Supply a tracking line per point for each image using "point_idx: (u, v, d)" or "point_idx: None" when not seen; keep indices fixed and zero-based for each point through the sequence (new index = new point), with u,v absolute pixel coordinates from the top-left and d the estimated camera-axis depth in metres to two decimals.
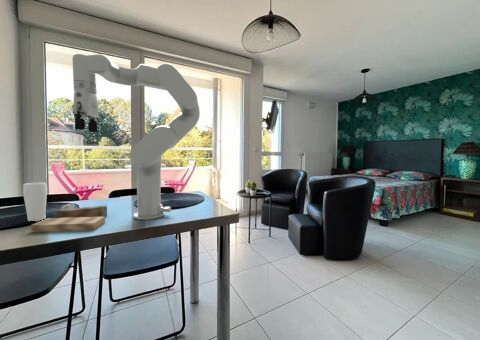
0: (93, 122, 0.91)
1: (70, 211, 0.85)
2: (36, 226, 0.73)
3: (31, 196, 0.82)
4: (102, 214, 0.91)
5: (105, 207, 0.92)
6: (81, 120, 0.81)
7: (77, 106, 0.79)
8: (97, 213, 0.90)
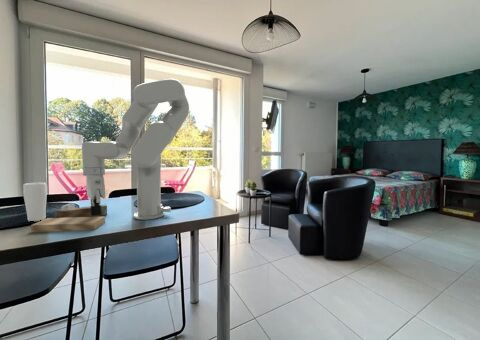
0: None
1: (70, 211, 0.85)
2: (36, 226, 0.73)
3: (31, 196, 0.82)
4: (102, 213, 0.92)
5: (105, 206, 0.93)
6: (98, 206, 0.89)
7: None
8: None
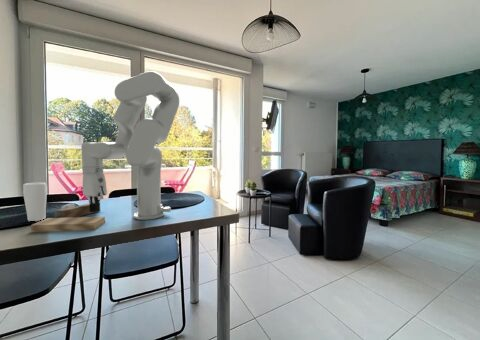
0: None
1: (71, 210, 0.87)
2: (36, 226, 0.73)
3: (31, 196, 0.82)
4: None
5: None
6: None
7: None
8: None
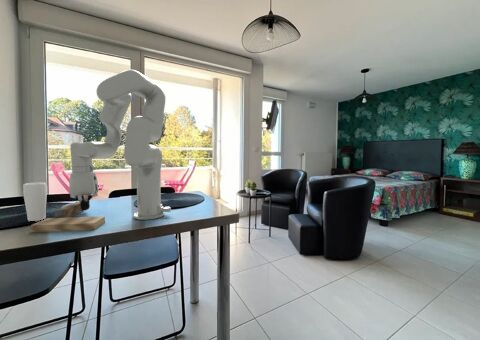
0: (84, 198, 0.97)
1: (68, 209, 0.88)
2: (36, 226, 0.73)
3: (31, 196, 0.82)
4: None
5: None
6: None
7: None
8: (80, 209, 0.97)
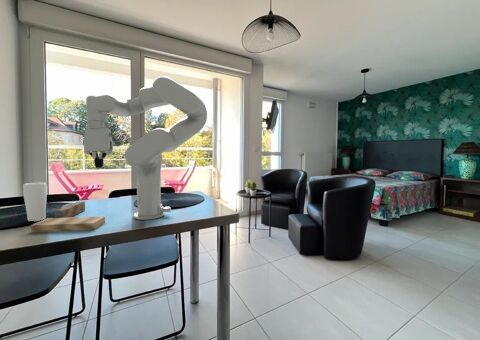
0: (99, 156, 0.93)
1: (68, 209, 0.88)
2: (36, 226, 0.73)
3: (31, 196, 0.82)
4: (83, 209, 0.99)
5: (84, 202, 0.99)
6: None
7: None
8: (80, 209, 0.97)
